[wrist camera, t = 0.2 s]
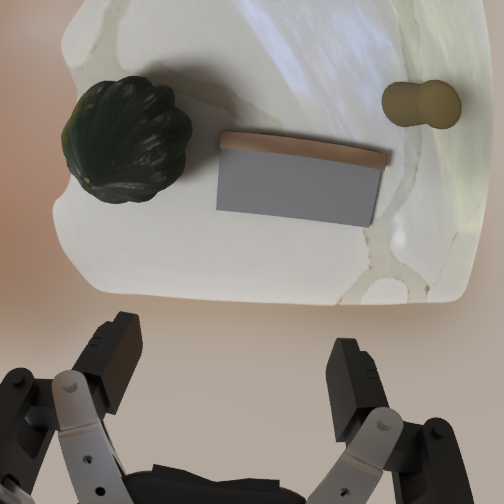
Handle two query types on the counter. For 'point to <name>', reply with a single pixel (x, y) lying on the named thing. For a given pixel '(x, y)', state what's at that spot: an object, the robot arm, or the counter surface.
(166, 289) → the counter surface
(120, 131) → the squash
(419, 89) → the olive pawn-shaped piece
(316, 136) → the counter surface
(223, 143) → the walnut rail
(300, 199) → the slate mat
